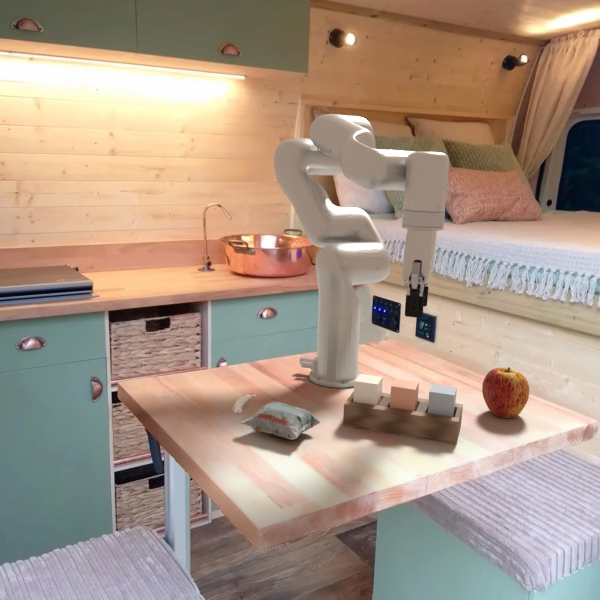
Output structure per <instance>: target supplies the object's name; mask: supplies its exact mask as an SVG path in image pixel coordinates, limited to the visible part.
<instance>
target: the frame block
mask: <svg viewBox="0 0 600 600" xmlns="http://www.w3.org/2000/svg"><path fill="white" fill-rule="evenodd" d="M390 395H391V393H387V392H382V397H381V402H380V404H379V405H378V406H377V405H371V404H364V403H358V402H353V398H354V390H353V392H351V394H350V395H349V397H348V398H347V400H346V401H345V402H344V403H343V416H342V418H343V420H342V421H343V422H342V427H345V428H352V429H356V430H364V431H368V432H376V433H382V434H383V433H384V434H388V435H393V436H394V435H395V436H400V437H405V438H413V439H417V440H424V441H431V442H436V443H442V444H443V443H444V444H450V445H456V446H457V445H458V440H459V435H460V432H461V427H462V419H463V418H462V417H463V408H464V406H463V405H464V403H457V402H456V403H455V413H454V417H449V416H443V415H436V414H430V413H428V401H429V398H421V397H418V403H417V409H416V411H410V410H404V409H397V408H391V407H390Z"/></svg>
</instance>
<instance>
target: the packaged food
mask: <svg viewBox="0 0 600 600" xmlns="http://www.w3.org/2000/svg"><path fill="white" fill-rule="evenodd" d="M320 423H321V421H320V420H319V419H318V418H317V417H316V416H315V414H313V413H312V412H310V410H307V409H305V408H301V407H297V406H295V405H289V404H287V403H283V402H280V401H272V402H269V403H266V404H265V405H264V406H262V407H261V408H260V409H259V410H257V411H256V412H255V413H254V414H253V415H252V416H251V417H249V418H246V419H244V420H242V421H241V423H240V424H241V425H246V426H249V427H251V428H252V429H253V430H255V431H257V432H260V433H265V434H268V435H273V436H275V437H278V438H281V439H288V440H291V441H292V440H297V439H298V437H300V435H301V434H303V433H305V432H306V431H308V430H309V429H311V428H314V427H315V426H317V425H319V424H320Z"/></svg>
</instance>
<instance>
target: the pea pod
mask: <svg viewBox="0 0 600 600" xmlns="http://www.w3.org/2000/svg"><path fill="white" fill-rule="evenodd" d="M252 396H254V397H256V396H257V394H252V395H250V394H246V395H245V396H241V397H240V398H239V399H237V400H236V401H235V403H234V404H233V406H232V411H233V414H234V415H236V414H241V413H243V407H244V406H245V404H246V403H247V402H248V401H250V400H251V399H252Z"/></svg>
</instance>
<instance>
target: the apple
mask: <svg viewBox="0 0 600 600" xmlns="http://www.w3.org/2000/svg"><path fill="white" fill-rule="evenodd" d="M481 389H482V391H481V392H482V398H483V400H484V403H485V404H486V406H487V408H488V410H489V411H490V412H491V413H492V414H493V415H495V416H496V417H498V418H501V419H513V418H516V417H517V416H519V415H520V414H521V413H522V411H523V410H524V408H525V407H526V405H527V404H528V403H527V402H528V401H529V397H530V384H529V381H528V380H527V377H525V375H524V374H522V373H521V372H520V371H518V370H516V369H513V368H511V367H495V368H493V369H491V370H489V371H488V372H487V373H486V375H485V377H484V378H483V381H482V386H481Z"/></svg>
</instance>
